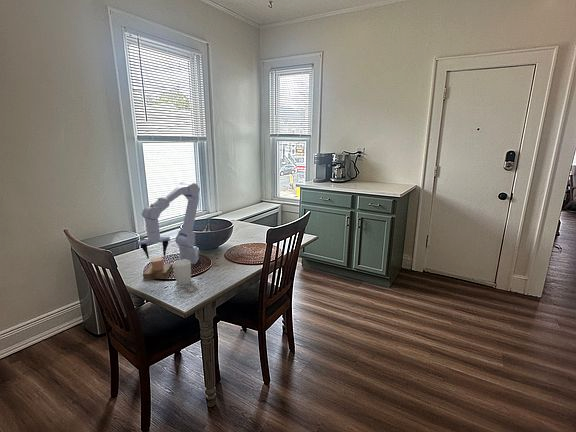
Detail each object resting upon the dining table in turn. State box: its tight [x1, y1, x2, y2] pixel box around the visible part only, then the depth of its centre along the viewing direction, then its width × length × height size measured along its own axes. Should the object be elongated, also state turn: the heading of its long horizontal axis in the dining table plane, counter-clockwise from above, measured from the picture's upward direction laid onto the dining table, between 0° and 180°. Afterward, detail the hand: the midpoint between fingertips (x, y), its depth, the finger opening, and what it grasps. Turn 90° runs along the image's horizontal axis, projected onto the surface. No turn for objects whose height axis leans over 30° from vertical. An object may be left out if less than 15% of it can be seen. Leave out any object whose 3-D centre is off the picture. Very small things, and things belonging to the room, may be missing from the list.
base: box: [142, 263, 174, 280], centre depth 161 cm, size 11×11×3 cm
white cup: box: [172, 259, 192, 286], centre depth 151 cm, size 8×8×10 cm
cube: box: [150, 256, 164, 271], centre depth 160 cm, size 5×5×5 cm
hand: (156, 256), depth 159 cm, fingers open, 7 cm apart
